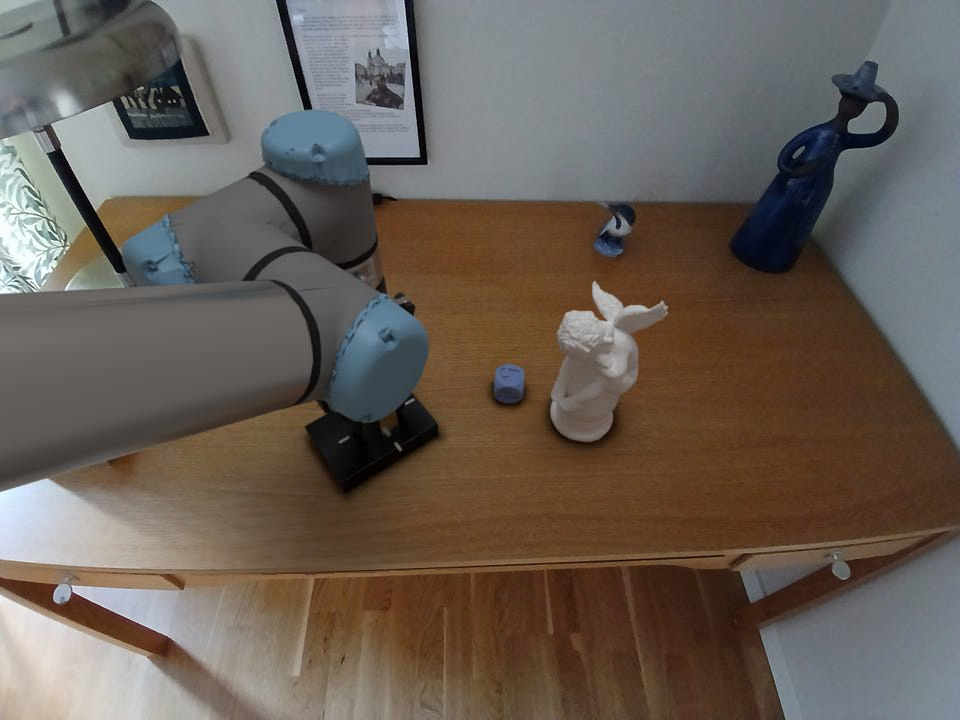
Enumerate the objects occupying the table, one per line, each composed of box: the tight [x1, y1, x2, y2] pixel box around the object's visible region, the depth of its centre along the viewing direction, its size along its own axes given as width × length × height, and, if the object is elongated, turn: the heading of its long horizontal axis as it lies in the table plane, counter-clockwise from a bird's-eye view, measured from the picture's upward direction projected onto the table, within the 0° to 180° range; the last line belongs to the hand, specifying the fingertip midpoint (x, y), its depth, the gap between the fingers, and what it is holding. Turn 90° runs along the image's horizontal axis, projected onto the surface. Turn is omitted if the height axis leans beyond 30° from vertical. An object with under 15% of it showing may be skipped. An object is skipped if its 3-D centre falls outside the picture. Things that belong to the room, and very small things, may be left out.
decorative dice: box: [493, 363, 526, 404], centre depth 78 cm, size 4×4×4 cm
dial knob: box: [369, 410, 400, 444], centre depth 69 cm, size 7×2×8 cm, turn 38°
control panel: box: [304, 392, 439, 494], centre depth 73 cm, size 14×11×3 cm
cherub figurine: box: [549, 280, 669, 443], centre depth 69 cm, size 12×12×22 cm
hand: (376, 415), depth 71 cm, fingers open, 5 cm apart
